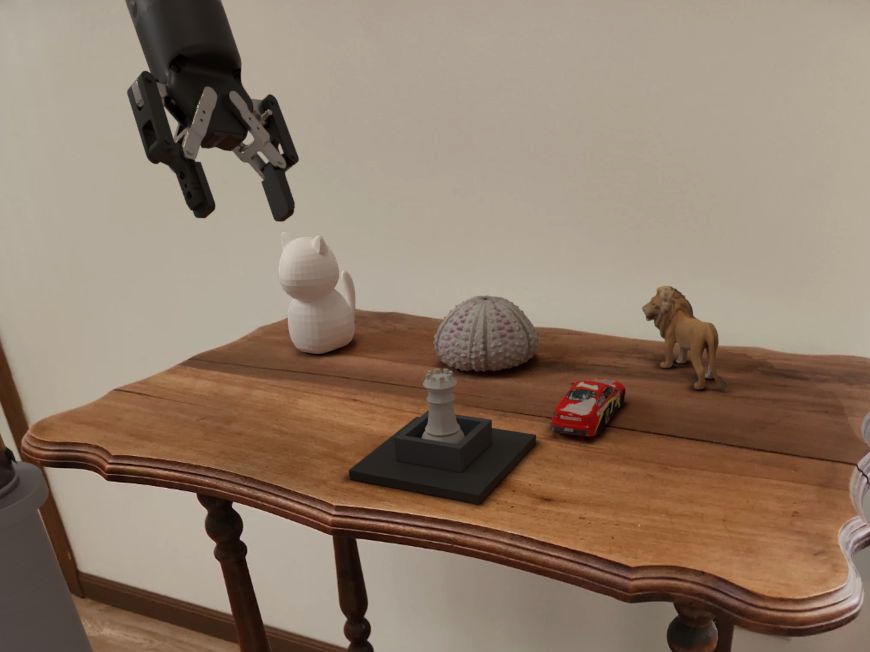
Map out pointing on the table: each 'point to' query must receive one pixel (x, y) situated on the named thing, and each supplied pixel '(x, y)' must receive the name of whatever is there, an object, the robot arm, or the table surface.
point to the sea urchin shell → (485, 335)
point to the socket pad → (445, 460)
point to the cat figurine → (316, 295)
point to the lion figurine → (683, 332)
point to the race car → (588, 407)
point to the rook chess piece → (441, 408)
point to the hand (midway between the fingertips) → (247, 216)
